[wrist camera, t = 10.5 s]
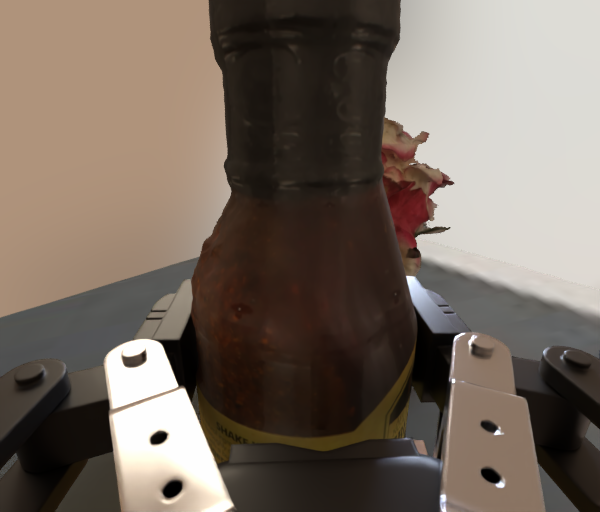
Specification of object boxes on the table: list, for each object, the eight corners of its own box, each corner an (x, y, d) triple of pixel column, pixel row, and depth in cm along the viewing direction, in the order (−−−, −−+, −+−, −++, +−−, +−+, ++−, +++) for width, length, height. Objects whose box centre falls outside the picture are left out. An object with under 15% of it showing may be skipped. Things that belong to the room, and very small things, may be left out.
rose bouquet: (240, 296, 62) (228, 102, 50) (417, 304, 60) (447, 104, 48) (182, 415, 38) (135, 101, 27) (472, 436, 36) (557, 105, 24)
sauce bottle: (410, 672, 12) (600, -109, 5) (217, 716, 11) (74, -172, 4) (352, 485, 18) (396, 12, 11) (224, 504, 17) (174, 0, 10)
